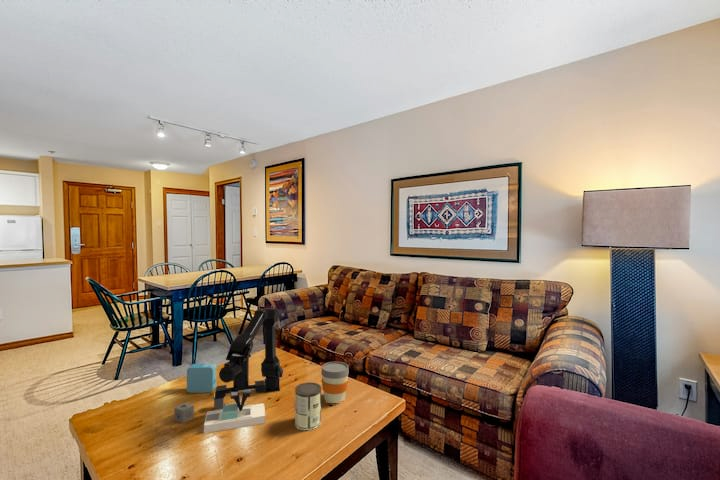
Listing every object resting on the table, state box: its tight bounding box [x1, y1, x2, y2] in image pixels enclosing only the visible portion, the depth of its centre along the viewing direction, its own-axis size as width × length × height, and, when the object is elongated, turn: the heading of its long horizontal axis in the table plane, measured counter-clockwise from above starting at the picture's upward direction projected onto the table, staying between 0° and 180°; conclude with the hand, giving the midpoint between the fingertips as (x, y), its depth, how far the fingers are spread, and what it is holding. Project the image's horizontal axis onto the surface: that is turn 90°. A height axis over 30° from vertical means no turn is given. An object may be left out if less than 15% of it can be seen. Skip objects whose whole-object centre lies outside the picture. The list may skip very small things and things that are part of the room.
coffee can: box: [294, 382, 322, 431], centre depth 130 cm, size 10×10×14 cm
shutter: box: [222, 402, 238, 420], centre depth 130 cm, size 6×7×2 cm
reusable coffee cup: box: [321, 361, 350, 403], centre depth 149 cm, size 13×12×15 cm
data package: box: [186, 363, 217, 394], centre depth 156 cm, size 12×4×12 cm, turn 93°
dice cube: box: [173, 401, 195, 424], centre depth 132 cm, size 5×5×5 cm
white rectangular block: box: [213, 393, 225, 411], centre depth 140 cm, size 4×4×6 cm
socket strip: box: [203, 403, 266, 434], centre depth 131 cm, size 22×10×3 cm, turn 109°
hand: (240, 410), depth 131 cm, fingers closed
